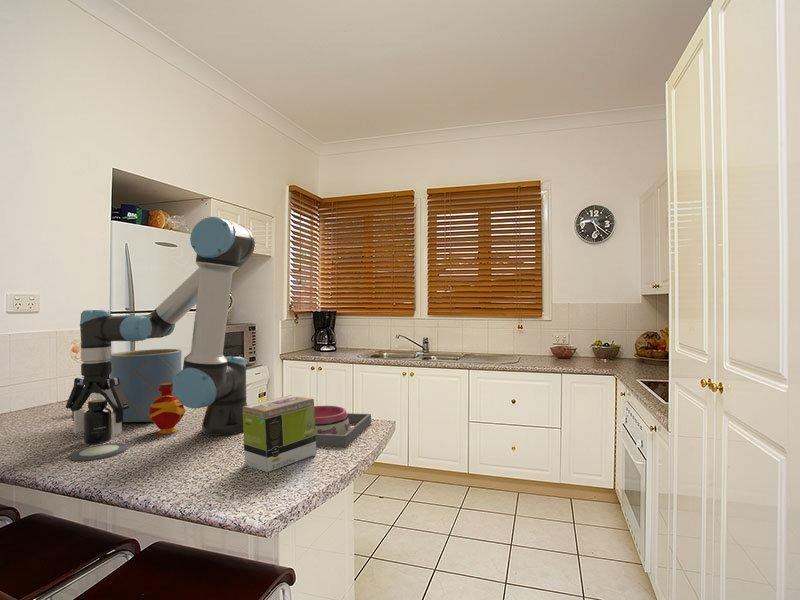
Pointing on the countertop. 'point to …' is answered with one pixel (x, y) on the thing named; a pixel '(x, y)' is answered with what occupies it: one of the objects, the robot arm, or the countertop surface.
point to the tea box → (279, 432)
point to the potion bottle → (166, 410)
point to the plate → (98, 451)
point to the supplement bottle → (97, 422)
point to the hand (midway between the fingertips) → (97, 433)
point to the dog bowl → (331, 420)
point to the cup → (97, 396)
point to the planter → (144, 378)
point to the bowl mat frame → (346, 439)
